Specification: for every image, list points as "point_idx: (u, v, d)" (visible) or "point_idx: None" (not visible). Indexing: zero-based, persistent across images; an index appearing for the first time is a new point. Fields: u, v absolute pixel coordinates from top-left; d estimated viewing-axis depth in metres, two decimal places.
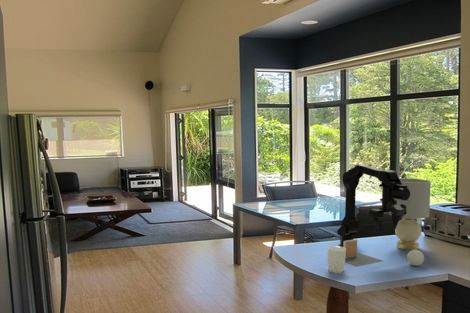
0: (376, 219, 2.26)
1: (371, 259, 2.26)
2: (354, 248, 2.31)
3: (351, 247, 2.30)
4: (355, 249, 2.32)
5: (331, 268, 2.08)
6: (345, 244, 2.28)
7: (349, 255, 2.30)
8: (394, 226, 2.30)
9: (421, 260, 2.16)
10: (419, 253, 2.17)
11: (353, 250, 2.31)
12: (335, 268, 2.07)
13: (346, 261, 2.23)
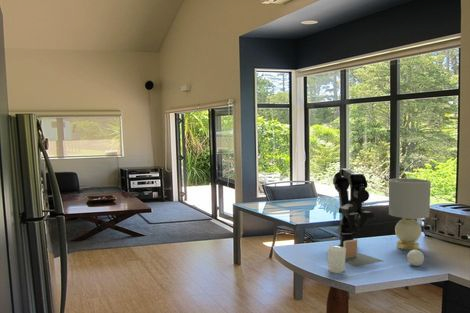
0: None
1: (371, 259, 2.26)
2: (354, 248, 2.31)
3: (351, 247, 2.30)
4: (355, 249, 2.32)
5: (331, 268, 2.08)
6: (345, 244, 2.28)
7: (349, 255, 2.30)
8: None
9: (421, 260, 2.16)
10: (419, 253, 2.17)
11: (353, 250, 2.31)
12: (335, 268, 2.07)
13: (346, 261, 2.23)
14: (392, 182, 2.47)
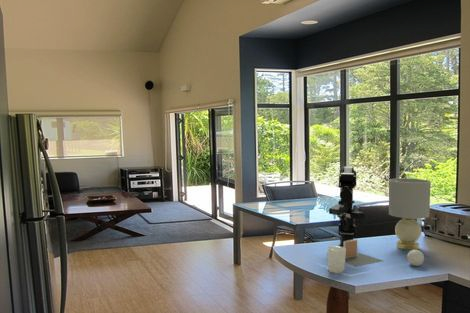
0: None
1: (371, 259, 2.26)
2: (354, 248, 2.31)
3: (351, 247, 2.30)
4: (355, 249, 2.32)
5: (331, 268, 2.08)
6: (345, 244, 2.28)
7: (349, 255, 2.30)
8: None
9: (421, 260, 2.16)
10: (419, 253, 2.17)
11: (353, 250, 2.31)
12: (335, 268, 2.07)
13: (346, 261, 2.23)
14: (392, 182, 2.47)
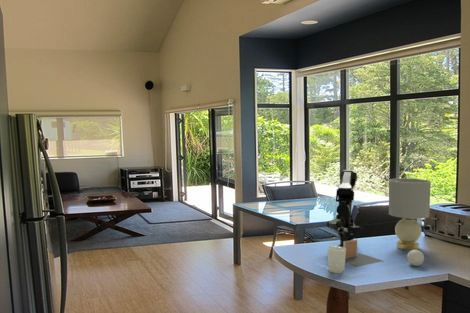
0: None
1: (371, 259, 2.26)
2: (354, 248, 2.31)
3: (351, 247, 2.30)
4: (355, 249, 2.32)
5: (331, 268, 2.08)
6: (345, 244, 2.28)
7: (349, 255, 2.30)
8: None
9: (421, 260, 2.16)
10: (419, 253, 2.17)
11: (353, 250, 2.31)
12: (335, 268, 2.07)
13: (346, 261, 2.23)
14: (392, 182, 2.47)
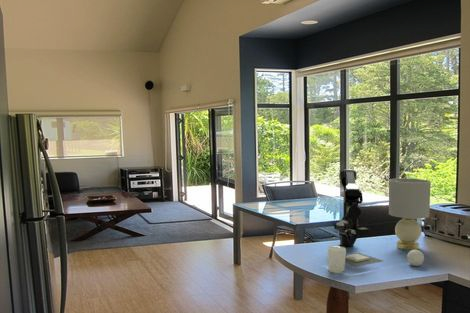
0: None
1: (371, 259, 2.26)
2: None
3: None
4: None
5: (331, 268, 2.08)
6: None
7: None
8: None
9: (421, 260, 2.16)
10: (419, 253, 2.17)
11: None
12: (335, 268, 2.07)
13: (346, 261, 2.23)
14: (392, 182, 2.47)
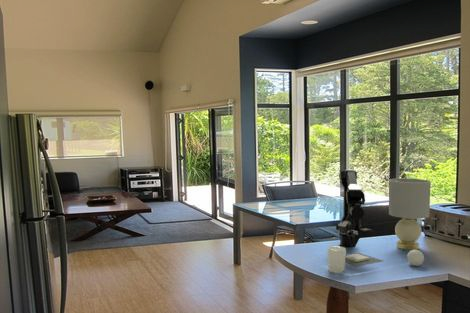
0: None
1: (371, 259, 2.26)
2: None
3: None
4: None
5: (331, 268, 2.08)
6: None
7: None
8: None
9: (421, 260, 2.16)
10: (419, 253, 2.17)
11: None
12: (335, 268, 2.07)
13: (346, 261, 2.23)
14: (392, 182, 2.47)
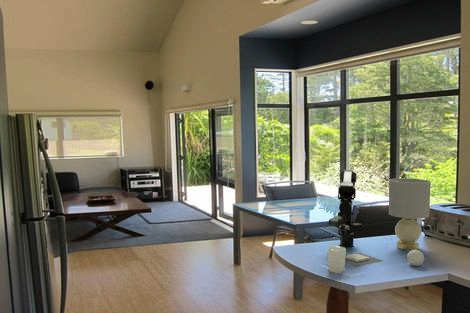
0: None
1: (371, 259, 2.26)
2: None
3: None
4: None
5: (331, 268, 2.08)
6: None
7: None
8: None
9: (421, 260, 2.16)
10: (419, 253, 2.17)
11: None
12: (335, 268, 2.07)
13: (346, 261, 2.23)
14: (392, 182, 2.47)
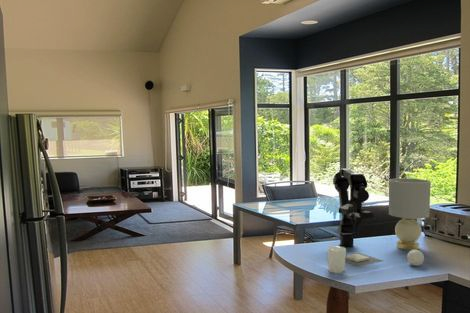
0: None
1: (371, 259, 2.26)
2: None
3: None
4: None
5: (331, 268, 2.08)
6: None
7: None
8: None
9: (421, 260, 2.16)
10: (419, 253, 2.17)
11: None
12: (335, 268, 2.07)
13: (346, 261, 2.23)
14: (392, 182, 2.47)
